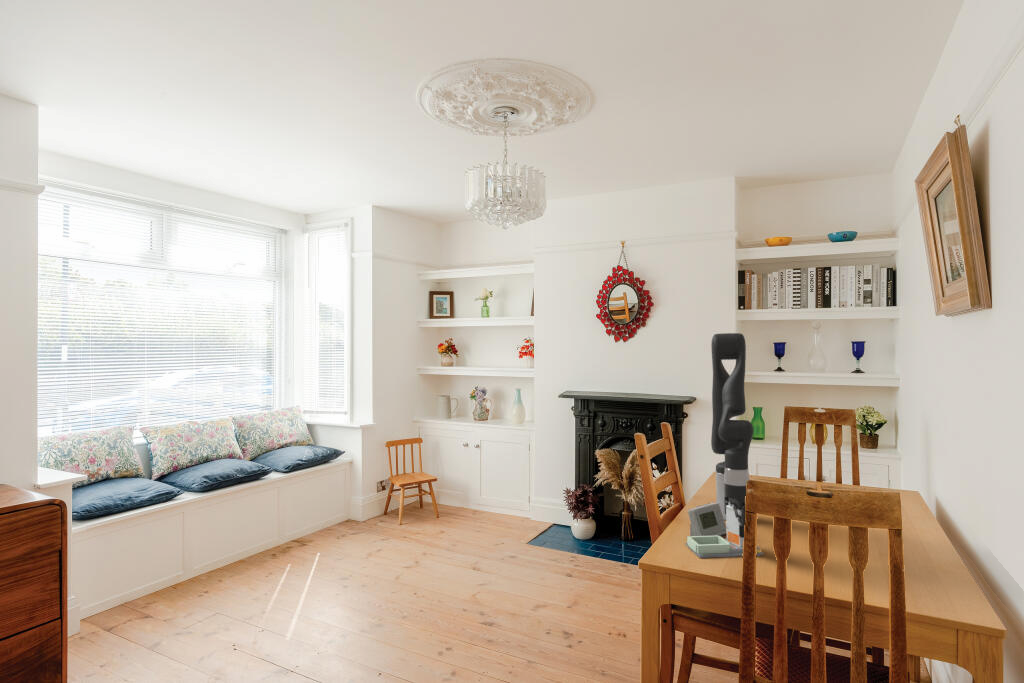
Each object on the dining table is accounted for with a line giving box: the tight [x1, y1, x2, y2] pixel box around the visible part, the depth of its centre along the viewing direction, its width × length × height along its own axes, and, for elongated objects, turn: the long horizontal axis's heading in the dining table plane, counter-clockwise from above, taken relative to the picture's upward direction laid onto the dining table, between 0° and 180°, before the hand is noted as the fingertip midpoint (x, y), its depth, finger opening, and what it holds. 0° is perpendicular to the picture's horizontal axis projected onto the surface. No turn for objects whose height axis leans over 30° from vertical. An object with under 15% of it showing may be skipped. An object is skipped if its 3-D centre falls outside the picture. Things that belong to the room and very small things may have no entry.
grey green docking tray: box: [685, 535, 765, 559], centre depth 185 cm, size 12×21×3 cm, turn 94°
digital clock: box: [687, 501, 727, 537], centre depth 199 cm, size 16×9×11 cm, turn 114°
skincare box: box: [725, 505, 744, 547], centre depth 186 cm, size 6×4×12 cm
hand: (737, 533), depth 186 cm, fingers closed on skincare box, 7 cm apart
